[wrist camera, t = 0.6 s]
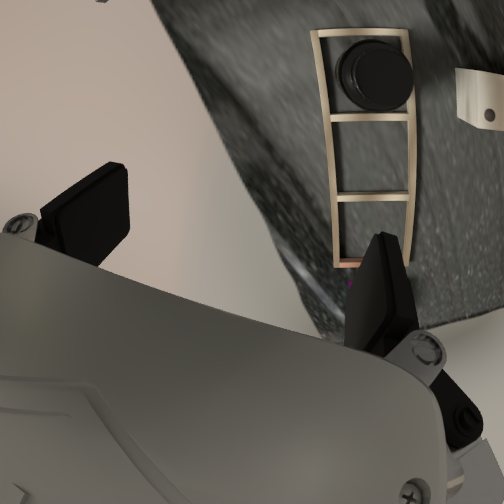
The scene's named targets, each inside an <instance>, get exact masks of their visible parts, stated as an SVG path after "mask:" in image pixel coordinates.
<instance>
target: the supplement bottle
mask: <svg viewBox="0 0 504 504" xmlns="http://www.w3.org/2000/svg"><path fill="white" fill-rule="evenodd" d="M335 78H336V81H337V84H338V86H339V88H340V89H341V91H342V92H343V93H344V94H345V96H346V97H347V98H348V99H349V100H350V101H351V102H352V103H353V104H355V105H356V106H358V107H359V108H361V109H363V110H366V111H369V112H373V113H388V112H391V111H394V110H396V109H398V108H400V107H401V106H403V105H404V104H405V103H406V102H407V100H408V99H409V97H410V96H411V93H412V91H413V87H414V74H413V70H412V67H411V64H410V62H409V60H408V59H407V57H406V56H405V55H404V54H403V53H402V52H401V51H400V50H399V49H398V48H397V47H395V46H394V45H392V44H390V43H388V42H385V41H382V40H377V39H366V40H361V41H358V42H356V43H354V44H352V45H351V46H349V47H348V48H347V49H346V50H345V51H344V52H343V53H342V54H341V55H340V57H339V58H338V60H337V62H336V66H335Z"/></svg>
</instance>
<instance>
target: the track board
mask: <svg viewBox="0 0 504 504" xmlns="http://www.w3.org/2000/svg"><path fill="white" fill-rule="evenodd" d="M310 34H311V39H312V45H313V51H314V57H315V63H316V69H317V76H318V83H319V90H320V97H321V105H322V113H323V121H324V130H325V139H326V149H327V159H328V171H329V183H330V197H331V213H332V232H333V257H334V268H336V267H359V266H360V264H361V262H362V260H363V258H339V224H338V203H337V202H347V201H407V211H406V226H405V237H404V248H403V257H402V258H403V262H404V266H409V258H410V250H411V241H412V232H413V221H414V208H415V192H416V163H417V133H416V105H415V90H414V87H413V91H412V93H411V96H410V97H409V99H408V100H407V113H403V112H388V113H373V112H360V113H333V114H330V109H329V101H328V93H327V86H326V79H325V72H324V65H323V59H322V53H321V47H320V41H319V38H322V37H339V36H397V37H400V43H401V50H402V53H403V54H404V55H405V56H406V57H407V59H408V60H409V62H410V64H411V67H412V58H411V50H410V43H409V36H408V30H406V29H385V28H349V29H327V30H313V31H310ZM412 70H413V67H412ZM340 121H408V191H377V192H337V186H336V172H335V159H334V148H333V137H332V127H331V122H340Z"/></svg>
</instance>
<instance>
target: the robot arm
mask: <svg viewBox="0 0 504 504" xmlns="http://www.w3.org/2000/svg"><path fill="white" fill-rule="evenodd" d="M40 213H41V217H42V218H41V219H40V220H39V221H38V217H37V216H36V215H34V214H32V213H24V214H20V215H17V216H15V217H13V218H11V219H10V220H9V221H8V222H7V223H6V224H5V225H4V227H3V230H2V233H0V504H502V502H503V501H504V476H503V474H502V472H501V469H500V467H499V465H498V462H497V460H496V458H495V456H494V454H493V452H492V449H491V447H490V445H489V443H488V441H487V439H484V440H482V438H481V433H482V431H483V418H482V415H481V413H480V411H479V410H478V408H477V407H476V405H475V404H474V403H473V402H472V401H471V400H470V399H469V398H468V396H467V395H466V394H465V393H464V392H463V391H462V390H461V389H460V387H459V386H458V385H457V384H456V383H455V382H454V381H453V380H452V379H451V378H450V376H449V375H448V374H447V373H446V372H445V371H444V370H443V369H442V368H443V367H444V365H445V363H446V358H447V357H446V356H447V355H446V351H445V348H444V346H443V344H442V343H441V342H440V340H439V339H438V338H437V337H436V336H434V335H433V334H431V333H429V332H427V331H424V330H420V329H419V323H418V317H417V312H416V307H415V302H414V297H413V292H412V288H411V283H410V280H409V278H408V277H407V274H406V270H405V266H404V262H403V258H402V254H401V250H400V246H399V242H398V238H397V236H395V235H392V234H389V233H386V232H381V233H380V234H374V236H373V238H372V240H371V242H370V245H369V247H368V249H367V251H366V253H365V256H364V258H363V260H362V262H361V264H360V266H359V268H358V271H357V273H356V275H355V277H354V279H353V281H352V283H351V285H350V287H349V289H348V292H347V295H346V312H345V338H344V345H341V344H338V343H334V342H331V341H327V340H324V339H320V338H316V337H313V336H309V335H305V334H301V333H298V332H294V331H290V330H287V329H283V328H280V327H276V326H273V325H269V324H266V323H263V322H259V321H256V320H252V319H249V318H246V317H243V316H239V315H236V314H232V313H229V312H226V311H223V310H220V309H216V308H213V307H210V306H207V305H204V304H201V303H198V302H194V301H191V300H189V299H185V298H182V297H179V296H176V295H173V294H171V293H168V292H165V291H161V290H159V289H156V288H153V287H150V286H147V285H144V284H142V283H139V282H136V281H133V280H131V279H128V278H125V277H123V276H120V275H117V274H114V273H112V272H109V271H106V270H104V269H101V268H99V267H98V266H99V265H100V264H101V263H102V261H103V260H104V259H105V258H106V257H107V256H108V255H109V254H110V253H111V252H112V251H113V250H114V248H115V247H116V246H117V245H118V244H119V243H120V242H121V241H122V240H123V239H124V238H125V237H126V236H127V234H128V233H129V230H130V216H129V198H128V171H127V169H126V168H125V166H124V165H123V164H121V163H115V162H108V163H106V164H105V165H103V166H101V167H100V168H98V169H97V170H95V171H94V172H92V173H91V174H89V175H88V176H86V177H85V178H83V179H82V180H80V181H79V182H77V183H76V184H74V185H73V186H71V187H70V188H68V189H67V190H66V191H64V192H63V193H61V194H60V195H58V196H57V197H56V198H54V199H53V200H52V201H51V202H49V203H48V204H46V205H45V206H44V207H42V208H41V209H40Z"/></svg>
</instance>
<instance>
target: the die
mask: <svg viewBox="0 0 504 504" xmlns="http://www.w3.org/2000/svg"><path fill="white" fill-rule="evenodd" d="M455 75H456V92H457V117H458V118H460V119H462V120H464V121H466V122H468V123H470V124H471V125H473V126H475V127H477V128H482V129H491V130H499V131H504V75H500V74H494V73H489V72H483V71H477V70H470V69H462V68H455Z"/></svg>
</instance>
